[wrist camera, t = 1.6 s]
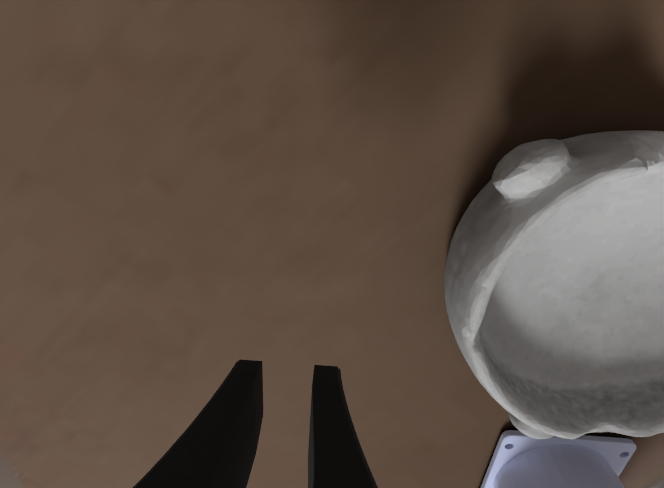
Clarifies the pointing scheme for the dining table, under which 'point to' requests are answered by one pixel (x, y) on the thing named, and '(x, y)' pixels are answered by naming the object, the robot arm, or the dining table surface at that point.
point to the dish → (567, 285)
